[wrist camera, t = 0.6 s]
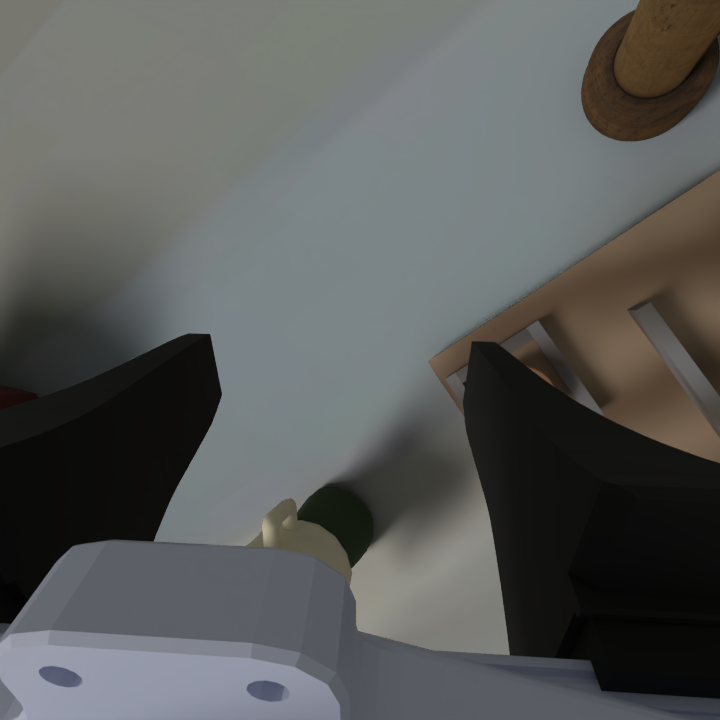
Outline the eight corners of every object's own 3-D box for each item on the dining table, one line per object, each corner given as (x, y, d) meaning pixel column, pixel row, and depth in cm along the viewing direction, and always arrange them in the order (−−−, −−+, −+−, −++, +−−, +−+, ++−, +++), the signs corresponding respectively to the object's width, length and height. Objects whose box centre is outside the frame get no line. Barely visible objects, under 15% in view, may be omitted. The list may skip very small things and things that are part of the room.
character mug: (297, 454, 37) (193, 525, 25) (378, 458, 35) (308, 540, 23) (304, 575, 38) (209, 702, 26) (383, 588, 36) (320, 733, 24)
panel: (918, 447, 25) (993, 472, 21) (582, 582, 31) (593, 620, 27) (709, 176, 26) (744, 154, 22) (432, 358, 33) (422, 365, 29)
